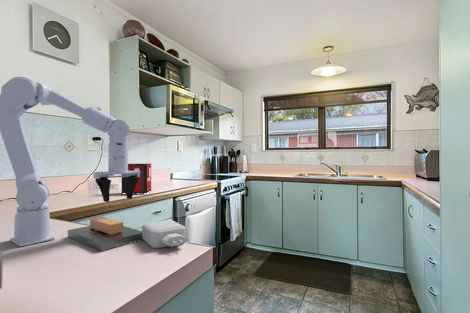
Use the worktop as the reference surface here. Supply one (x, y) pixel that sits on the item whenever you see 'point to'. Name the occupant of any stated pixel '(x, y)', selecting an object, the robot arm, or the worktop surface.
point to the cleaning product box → (140, 178)
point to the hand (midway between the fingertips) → (118, 200)
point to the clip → (106, 225)
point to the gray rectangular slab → (104, 237)
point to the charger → (163, 233)
